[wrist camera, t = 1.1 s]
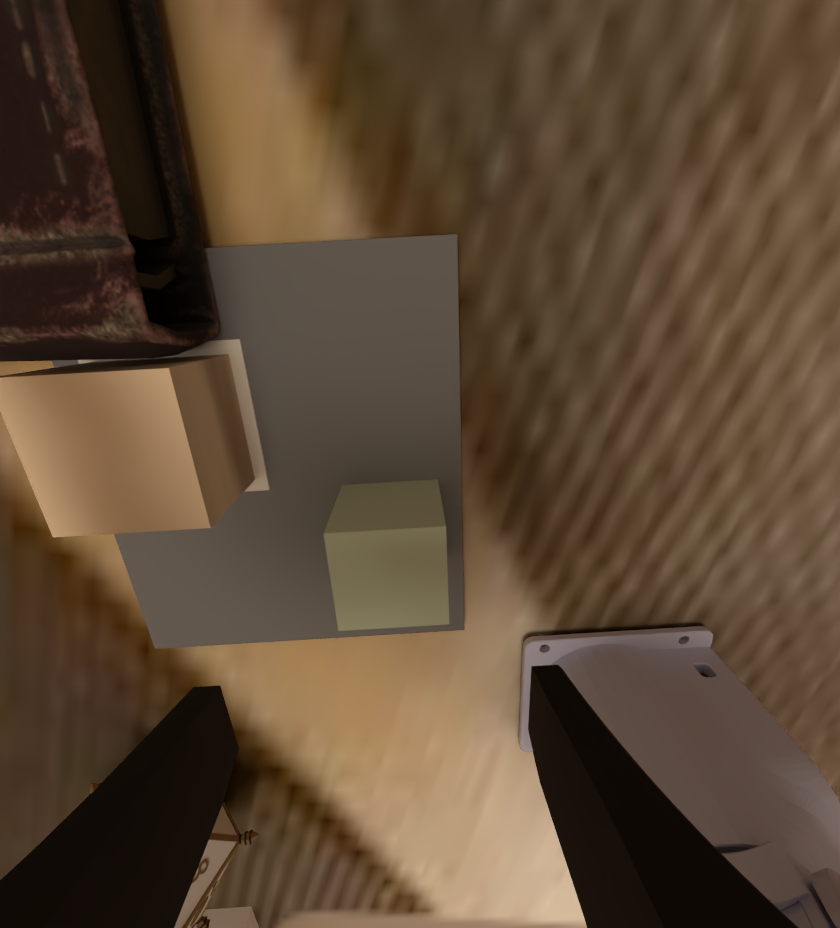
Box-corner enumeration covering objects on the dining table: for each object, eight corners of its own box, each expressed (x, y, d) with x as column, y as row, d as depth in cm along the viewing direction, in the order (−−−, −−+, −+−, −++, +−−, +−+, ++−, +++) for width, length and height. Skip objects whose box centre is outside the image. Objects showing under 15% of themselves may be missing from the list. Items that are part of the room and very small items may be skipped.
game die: (191, 703, 27) (4, 780, 18) (302, 746, 24) (150, 865, 15) (152, 857, 25) (-76, 1032, 16) (265, 921, 23) (70, 1176, 13)
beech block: (228, 354, 15) (168, 368, 11) (254, 479, 17) (210, 528, 13) (92, 361, 15) (-14, 378, 11) (132, 486, 17) (52, 537, 13)
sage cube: (437, 479, 17) (446, 526, 13) (441, 560, 18) (449, 624, 15) (342, 484, 17) (323, 533, 13) (352, 566, 18) (338, 631, 15)
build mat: (455, 237, 14) (457, 233, 14) (462, 621, 20) (464, 631, 20) (31, 260, 14) (12, 258, 14) (162, 639, 20) (154, 650, 20)
